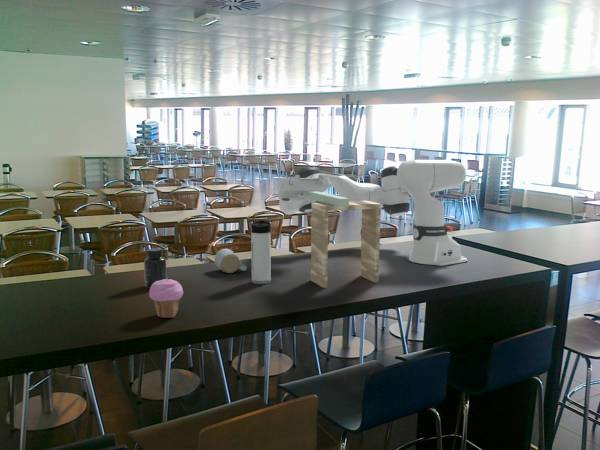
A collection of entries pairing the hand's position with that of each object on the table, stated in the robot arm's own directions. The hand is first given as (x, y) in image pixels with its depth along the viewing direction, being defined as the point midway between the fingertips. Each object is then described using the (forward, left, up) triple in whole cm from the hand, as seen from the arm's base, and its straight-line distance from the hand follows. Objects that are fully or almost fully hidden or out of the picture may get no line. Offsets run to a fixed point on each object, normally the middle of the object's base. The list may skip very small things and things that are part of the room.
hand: (310, 176), depth 204 cm
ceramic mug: (+31, +2, -33) cm, 45 cm away
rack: (-1, +29, -33) cm, 44 cm away
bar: (+4, +26, -7) cm, 27 cm away
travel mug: (+25, +20, -33) cm, 46 cm away
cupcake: (+59, +45, -33) cm, 81 cm away
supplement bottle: (+58, +14, -33) cm, 68 cm away
